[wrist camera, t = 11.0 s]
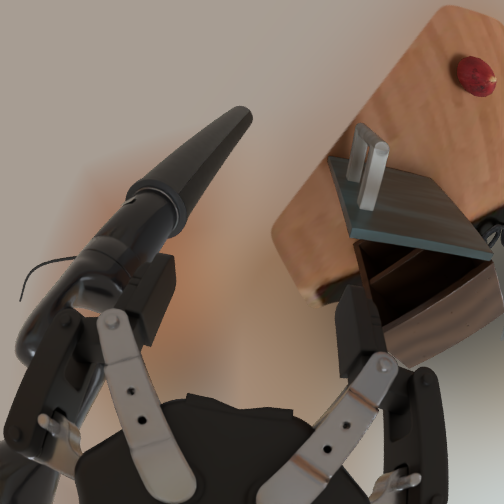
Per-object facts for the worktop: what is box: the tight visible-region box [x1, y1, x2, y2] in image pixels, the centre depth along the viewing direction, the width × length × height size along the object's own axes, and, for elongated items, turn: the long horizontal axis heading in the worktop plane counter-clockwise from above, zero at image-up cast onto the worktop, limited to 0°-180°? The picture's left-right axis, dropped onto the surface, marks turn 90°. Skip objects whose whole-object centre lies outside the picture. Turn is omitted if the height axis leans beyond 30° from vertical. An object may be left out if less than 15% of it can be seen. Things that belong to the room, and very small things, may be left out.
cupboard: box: [353, 239, 504, 368], centre depth 34 cm, size 12×17×19 cm
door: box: [327, 123, 494, 261], centre depth 26 cm, size 8×17×19 cm, turn 87°
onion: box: [457, 56, 497, 97], centre depth 20 cm, size 6×6×8 cm
